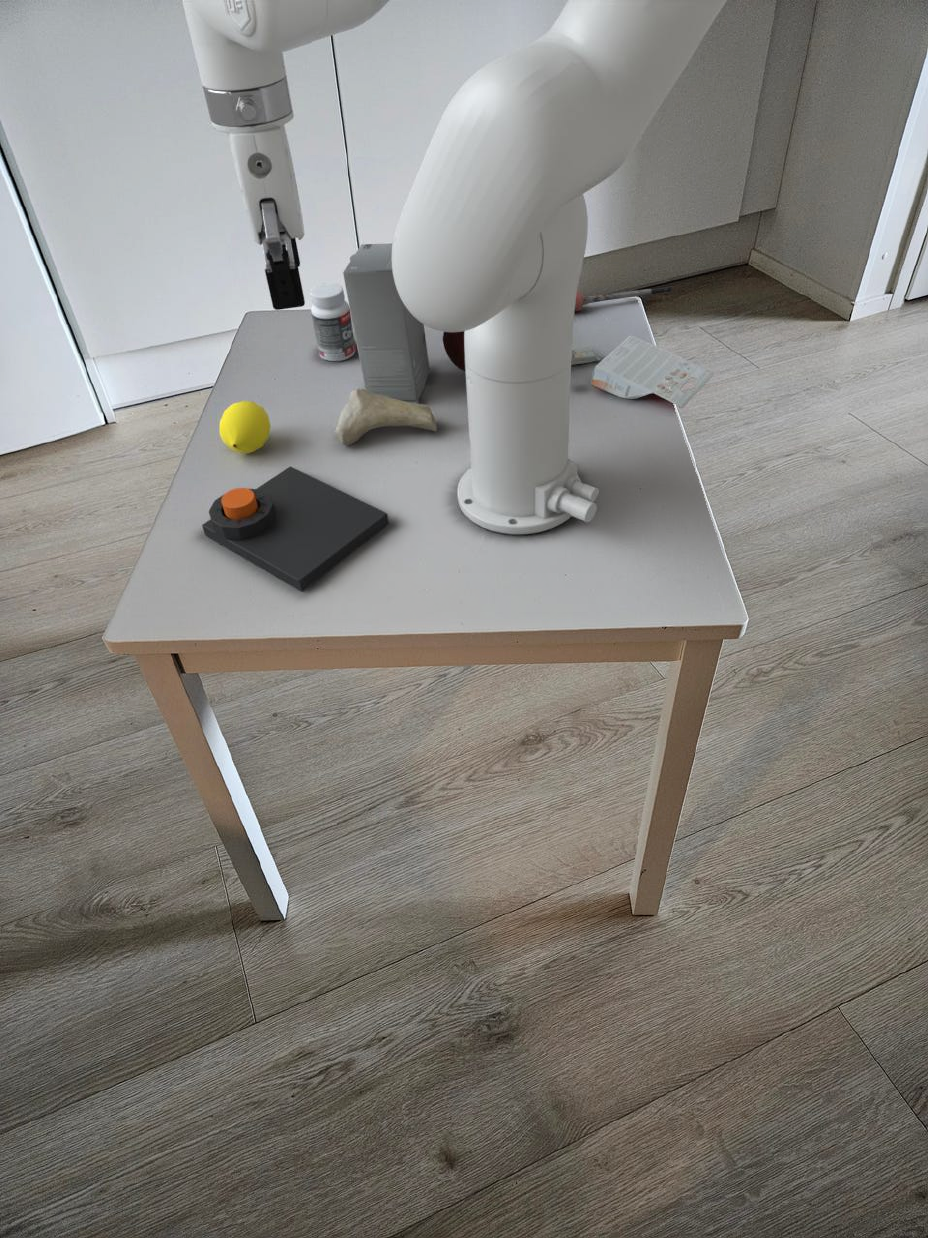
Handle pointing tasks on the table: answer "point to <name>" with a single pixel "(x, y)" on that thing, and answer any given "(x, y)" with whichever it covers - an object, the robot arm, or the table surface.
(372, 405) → the cream lumpy piece
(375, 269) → the cosmetic box
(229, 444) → the lemon
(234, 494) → the button
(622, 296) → the screwdriver
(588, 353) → the granola bar
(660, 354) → the ink box
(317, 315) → the pill bottle
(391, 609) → the table surface
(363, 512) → the scale
